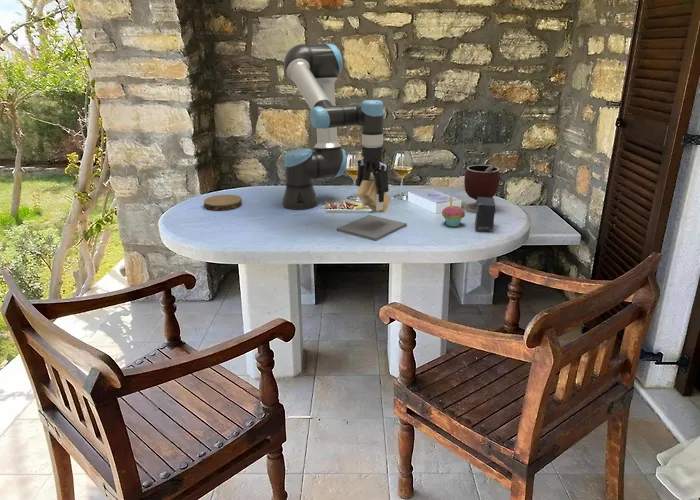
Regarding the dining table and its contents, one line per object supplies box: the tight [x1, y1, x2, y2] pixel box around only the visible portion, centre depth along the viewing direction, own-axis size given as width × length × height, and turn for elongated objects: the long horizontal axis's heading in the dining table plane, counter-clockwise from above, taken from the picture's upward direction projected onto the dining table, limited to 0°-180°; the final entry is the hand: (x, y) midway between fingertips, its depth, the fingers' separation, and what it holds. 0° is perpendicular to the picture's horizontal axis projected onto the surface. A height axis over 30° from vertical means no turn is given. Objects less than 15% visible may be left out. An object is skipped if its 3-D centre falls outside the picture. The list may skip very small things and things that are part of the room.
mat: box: [336, 214, 408, 242], centre depth 194 cm, size 18×20×1 cm
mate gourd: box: [463, 164, 501, 214], centre depth 211 cm, size 16×14×20 cm
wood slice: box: [203, 194, 243, 212], centre depth 223 cm, size 16×16×3 cm
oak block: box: [355, 180, 392, 214], centre depth 190 cm, size 6×6×12 cm
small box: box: [474, 197, 496, 233], centre depth 192 cm, size 11×6×10 cm, turn 168°
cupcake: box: [441, 194, 466, 227], centre depth 195 cm, size 9×8×12 cm
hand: (372, 207), depth 191 cm, fingers closed on oak block, 7 cm apart
